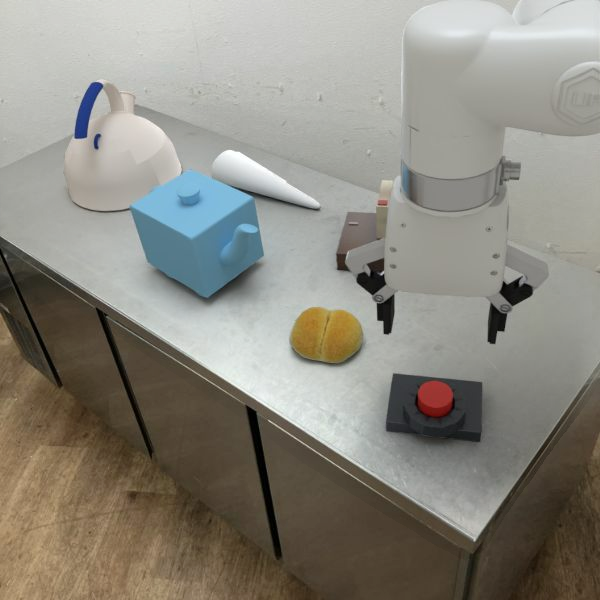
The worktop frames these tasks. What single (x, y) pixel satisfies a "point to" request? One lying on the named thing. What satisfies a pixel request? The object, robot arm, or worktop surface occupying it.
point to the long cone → (256, 179)
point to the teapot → (198, 231)
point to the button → (435, 399)
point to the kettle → (116, 153)
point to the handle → (383, 207)
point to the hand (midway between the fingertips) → (439, 328)
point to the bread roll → (326, 335)
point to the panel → (358, 237)
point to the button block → (410, 420)
